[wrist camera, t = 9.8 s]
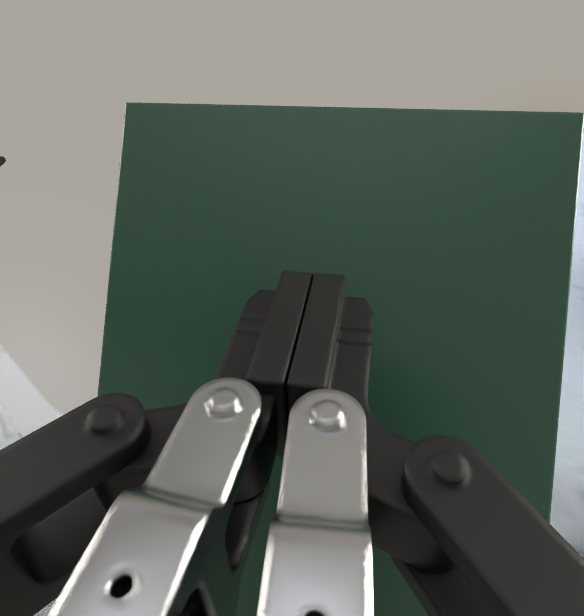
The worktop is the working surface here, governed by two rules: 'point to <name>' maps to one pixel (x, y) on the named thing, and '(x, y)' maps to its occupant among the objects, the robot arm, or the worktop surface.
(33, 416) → the worktop surface
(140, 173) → the lid
